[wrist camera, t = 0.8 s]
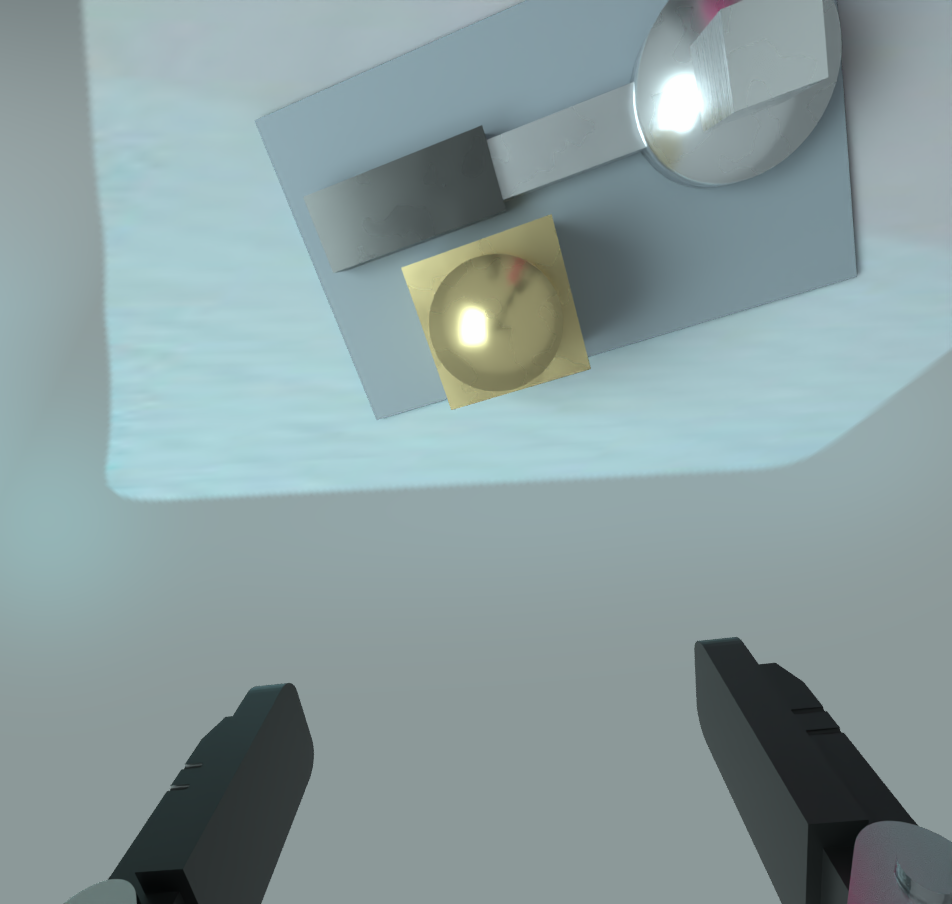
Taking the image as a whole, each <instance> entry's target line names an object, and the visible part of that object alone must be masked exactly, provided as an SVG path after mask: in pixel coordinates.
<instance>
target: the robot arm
mask: <svg viewBox="0 0 952 904" xmlns="http://www.w3.org/2000/svg"><path fill="white" fill-rule="evenodd" d="M695 672H696V673H695V674H696V697H697V710H698V716H699V721H700V725H701V729H702V732H703V735H704V738H705V740H706V743H707V745H708V747H709V749H710V751H711V753H712V756H713V758H714V760H715V762H716V764H717V766H718V768H719V771H720V773H721V775H722V777H723V779H724V781H725V783H726V785H727V788H728V790H729V792H730V794H731V796H732V798H733V800H734V803H735V805H736V807H737V809H738V811H739V813H740V815H741V817H742V819H743V822H744V824H745V826H746V828H747V830H748V832H749V835H750V837H751V839H752V841H753V843H754V845H755V847H756V849H757V851H758V854H759V856H760V858H761V860H762V862H763V864H764V866H765V869H766V870H767V873H768V875H769V877H770V879H771V881H772V883H773V885H774V888H775V890H776V892H777V894H778V896H779V898H780V901H781V903H782V904H952V842H951V841H949V840H947V839H946V838H944V837H942V836H941V835H939V834H937V833H934V832H932V831H930V830H928V829H925V828H923V827H920V826H918V825H917V824H916V822H915V821H914V820H913V819H912V818H911V817H910V815H909V814H908V813H907V812H906V810H905V809H904V808H903V807H902V805H901V804H900V803H899V802H898V800H897V799H896V798H895V797H894V795H893V794H892V793H891V792H890V790H889V789H888V788H887V786H886V785H885V784H884V783H883V782H882V781H881V779H880V778H879V776H878V775H877V774H876V773H875V771H874V770H873V769H872V768H871V766H870V765H869V764H868V763H867V761H866V760H865V759H864V758H863V757H862V755H861V754H860V752H859V751H858V750H857V749H856V747H855V746H854V745H853V744H852V742H851V741H850V740H849V739H848V737H847V736H846V735H845V734H844V733H841V731H840V727H839V726H838V725H837V724H836V722H835V721H834V720H833V719H832V717H831V716H830V715H829V713H828V712H827V711H826V712H825V711H824V709H823V706H822V705H821V703H820V702H819V701H818V700H817V698H816V697H815V696H814V695H813V693H812V692H811V691H810V690H809V688H808V687H807V686H806V685H805V683H804V682H803V681H801V680H800V679H798V678H797V677H795V676H794V675H793V674H791V673H790V672H788V671H787V670H785V669H784V668H782V667H781V666H779V665H778V664H776V663H769V664H760V665H759V664H758V663H757V662H756V660H755V659H754V657H753V656H752V654H751V653H750V652H749V650H748V649H747V648H746V646H745V645H744V643H743V642H742V641H741V640H740V639H739V638H738V637H732V638H722V639H713V640H703V641H697V642H696V643H695ZM313 759H314V749H313V742H312V738H311V735H310V732H309V728H308V725H307V722H306V719H305V715H304V712H303V709H302V706H301V703H300V699H299V696H298V693H297V690H296V688H295V686H294V685H293V684H291V683H285V684H275V685H266V686H256V687H253V688H252V689H250V690H249V692H248V693H247V695H246V696H245V698H244V699H243V701H242V702H241V704H240V705H239V707H238V709H237V710H236V712H235V713H234V715H233V716H231V717H225V718H224V719H223V720H222V721H221V722H220V723H219V724H218V725H217V726H215V727H214V728H213V729H212V730H211V731H210V732H209V733H208V734H207V735H206V736H205V737H204V738H203V739H202V740H201V741H200V743H199V744H198V746H197V747H196V749H195V750H194V752H193V753H192V755H191V756H190V758H189V759H188V761H187V762H186V764H185V768H184V769H183V770H181V771H180V773H179V774H178V776H177V777H176V779H175V780H174V782H173V783H172V785H171V789H170V791H167V792H166V794H165V795H164V797H163V798H162V800H161V801H160V803H159V804H158V806H157V807H156V809H155V810H154V812H153V813H152V815H151V816H150V818H149V819H148V821H147V822H146V824H145V825H144V827H143V828H142V830H141V831H140V833H139V834H138V836H137V837H136V839H135V840H134V842H133V843H132V845H131V846H130V848H129V849H128V851H127V852H126V854H125V855H124V857H123V858H122V860H121V861H120V863H119V864H118V866H117V867H116V869H115V870H114V872H113V873H112V875H111V876H110V877H109V879H108V880H106V881H102V882H99V883H97V884H94V885H92V886H90V887H88V888H86V889H84V890H82V891H81V892H79V893H77V894H76V895H74V896H73V897H71V898H70V899H69V900H67V901H66V902H65V903H64V904H261V902H262V900H263V897H264V895H265V892H266V889H267V887H268V884H269V882H270V879H271V877H272V874H273V872H274V869H275V866H276V864H277V861H278V858H279V856H280V853H281V851H282V848H283V846H284V843H285V840H286V838H287V835H288V833H289V830H290V828H291V825H292V822H293V820H294V817H295V815H296V812H297V810H298V807H299V805H300V802H301V799H302V797H303V794H304V792H305V789H306V786H307V784H308V781H309V779H310V776H311V771H312V768H313Z"/></svg>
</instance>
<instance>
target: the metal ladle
mask: <svg viewBox="0 0 952 904" xmlns="http://www.w3.org/2000/svg"><path fill="white" fill-rule="evenodd" d="M841 52H842V34H841V27H840V20H839V16H838V12H837V9H836V5H835V3H834V1H833V0H669V1H668V2H667V4H666V5H665V6H664V8H663V9H662V11H661V12H660V14H659V16H658V17H657V19H656V21H655V23H654V24H653V26H652V28H651V29H650V31H649V33H648V35H647V36H646V38H645V40H644V42H643V44H642V46H641V48H640V50H639V53H638V55H637V57H636V61H635V64H634V67H633V70H632V75H631V79H630V84H627V85H625V86H622V87H619V88H617V89H614V90H612V91H609V92H607V93H604V94H602V95H599V96H597V97H594V98H592V99H589V100H587V101H584V102H581V103H579V104H576V105H574V106H571V107H569V108H566V109H564V110H561V111H559V112H556V113H554V114H551V115H549V116H546V117H543V118H541V119H538V120H536V121H533V122H531V123H528V124H526V125H523V126H521V127H518V128H516V129H513V130H511V131H508V132H505V133H503V134H500V135H498V136H495V137H493V138H490V139H488V140H487V139H486V135H485V132H484V129H483V126H482V125H481V126H479V127H476V128H474V129H471V130H469V131H466V132H464V133H461V134H459V135H456V136H454V137H451V138H449V139H446V140H444V141H441V142H439V143H436V144H434V145H431V146H429V147H426V148H424V149H421V150H419V151H416V152H414V153H411V154H409V155H406V156H404V157H401V158H399V159H396V160H394V161H391V162H389V163H386V164H384V165H381V166H379V167H376V168H374V169H371V170H369V171H366V172H364V173H361V174H359V175H357V176H354V177H352V178H349V179H347V180H344V181H342V182H339V183H337V184H334V185H332V186H329V187H327V188H324V189H322V190H319V191H317V192H314V193H312V194H309V195H307V196H304V197H303V198H304V201H305V203H306V206H307V208H308V211H309V213H310V216H311V218H312V221H313V223H314V226H315V228H316V231H317V233H318V236H319V238H320V241H321V243H322V246H323V248H324V251H325V253H326V256H327V258H328V261H329V264H330V266H331V269H332V271H333V273H337V272H345V271H348V270H350V269H353V268H356V267H359V266H361V265H364V264H367V263H370V262H372V261H375V260H378V259H381V258H383V257H386V256H389V255H392V254H394V253H397V252H400V251H402V250H405V249H408V248H411V247H413V246H416V245H419V244H422V243H424V242H427V241H430V240H433V239H435V238H438V237H441V236H444V235H446V234H449V233H452V232H455V231H457V230H460V229H463V228H466V227H468V226H471V225H474V224H477V223H479V222H482V221H485V220H488V219H490V218H493V217H496V216H499V215H501V214H504V213H507V211H506V207H505V203H504V202H505V201H508V200H511V199H513V198H516V197H519V196H522V195H524V194H527V193H530V192H532V191H535V190H538V189H541V188H543V187H546V186H549V185H551V184H554V183H557V182H560V181H562V180H565V179H568V178H570V177H573V176H576V175H579V174H581V173H584V172H587V171H589V170H592V169H595V168H598V167H600V166H603V165H606V164H608V163H611V162H614V161H617V160H619V159H622V158H625V157H627V156H630V155H633V154H636V153H638V152H641V153H642V154H643V156H644V157H645V159H646V160H647V161H648V162H649V164H650V165H651V166H652V167H653V168H654V169H655V170H656V171H657V172H658V173H660V174H661V175H663V176H664V177H666V178H667V179H669V180H671V181H673V182H675V183H677V184H680V185H683V186H687V187H692V188H717V187H723V186H726V185H730V184H734V183H737V182H740V181H743V180H746V179H750V178H752V177H755V176H757V175H759V174H762V173H764V172H766V171H767V170H769V169H771V168H773V167H775V166H776V165H777V164H779V163H780V162H782V161H783V160H784V159H786V158H787V157H788V156H789V155H790V154H791V153H793V152H794V151H795V150H796V149H797V148H798V147H799V146H800V145H801V144H802V143H803V141H804V140H805V139H806V138H807V137H808V136H809V134H810V133H811V132H812V130H813V129H814V128H815V126H816V125H817V123H818V122H819V120H820V118H821V116H822V115H823V113H824V111H825V109H826V107H827V105H828V103H829V101H830V98H831V96H832V93H833V90H834V87H835V84H836V81H837V77H838V73H839V68H840V62H841Z"/></svg>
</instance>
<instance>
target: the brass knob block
mask: <svg viewBox="0 0 952 904" xmlns="http://www.w3.org/2000/svg"><path fill="white" fill-rule="evenodd" d="M401 269H402V272H403V275H404V278H405V280H406V283H407V286H408V289H409V292H410V294H411V297H412V300H413V303H414V306H415V309H416V311H417V314H418V317H419V320H420V323H421V325H422V328H423V331H424V334H425V337H426V340H427V342H428V345H429V348H430V351H431V354H432V357H433V359H434V362H435V365H436V368H437V371H438V373H439V376H440V379H441V382H442V385H443V388H444V390H445V393H446V396H447V399H448V402H449V404H450V407H451V410H453V409H456V408H460V407H463V406H467V405H470V404H473V403H477V402H480V401H484V400H487V399H490V398H494V397H497V396H501V395H504V394H507V393H511V392H514V391H518V390H521V389H524V388H528V387H531V386H535V385H538V384H541V383H545V382H548V381H552V380H555V379H558V378H562V377H565V376H569V375H572V374H575V373H579V372H582V371H586V370H589V369H591V368H590V364H589V360H588V356H587V352H586V348H585V344H584V340H583V336H582V332H581V328H580V324H579V320H578V317H577V313H576V309H575V305H574V301H573V297H572V293H571V289H570V285H569V281H568V277H567V273H566V269H565V265H564V261H563V257H562V253H561V249H560V245H559V241H558V237H557V233H556V229H555V225H554V221H553V217H552V214H550V215H547V216H545V217H542V218H539V219H536V220H533V221H531V222H528V223H525V224H522V225H519V226H517V227H514V228H511V229H508V230H505V231H503V232H500V233H497V234H494V235H491V236H489V237H486V238H483V239H480V240H477V241H475V242H472V243H469V244H466V245H463V246H461V247H458V248H455V249H452V250H449V251H447V252H444V253H441V254H438V255H435V256H433V257H430V258H427V259H424V260H421V261H419V262H416V263H413V264H410V265H407V266H405V267H402V268H401Z"/></svg>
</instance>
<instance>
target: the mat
mask: <svg viewBox="0 0 952 904" xmlns="http://www.w3.org/2000/svg"><path fill="white" fill-rule="evenodd" d="M668 1H669V0H526V1H524V2H522V3H519V4H517V5H515V6H513V7H510V8H508V9H506V10H504V11H501V12H499V13H497V14H494V15H492V16H490V17H488V18H485V19H483V20H481V21H479V22H476V23H474V24H472V25H470V26H467V27H465V28H463V29H461V30H458V31H456V32H454V33H451V34H449V35H447V36H445V37H442V38H440V39H438V40H436V41H433V42H431V43H429V44H427V45H424V46H422V47H420V48H418V49H415V50H413V51H411V52H409V53H406V54H404V55H402V56H399V57H397V58H395V59H393V60H390V61H388V62H386V63H384V64H381V65H379V66H377V67H375V68H372V69H370V70H368V71H366V72H363V73H361V74H359V75H357V76H354V77H352V78H350V79H347V80H345V81H343V82H341V83H338V84H336V85H334V86H332V87H329V88H327V89H325V90H323V91H320V92H318V93H316V94H314V95H311V96H309V97H307V98H304V99H302V100H300V101H298V102H295V103H293V104H291V105H289V106H286V107H284V108H282V109H280V110H277V111H275V112H273V113H271V114H268V115H266V116H264V117H262V118H259V119H257V120H255V123H256V126H257V128H258V131H259V133H260V135H261V138H262V140H263V143H264V145H265V148H266V150H267V153H268V155H269V158H270V160H271V162H272V165H273V167H274V170H275V172H276V175H277V177H278V180H279V182H280V184H281V187H282V189H283V192H284V194H285V197H286V199H287V202H288V204H289V207H290V209H291V211H292V214H293V216H294V219H295V221H296V224H297V226H298V229H299V231H300V233H301V236H302V238H303V241H304V243H305V246H306V248H307V251H308V253H309V255H310V258H311V260H312V263H313V265H314V268H315V270H316V273H317V275H318V278H319V280H320V282H321V285H322V287H323V290H324V292H325V295H326V297H327V300H328V302H329V304H330V307H331V309H332V312H333V314H334V317H335V319H336V322H337V324H338V327H339V329H340V331H341V334H342V336H343V339H344V341H345V344H346V346H347V349H348V351H349V353H350V356H351V358H352V361H353V363H354V366H355V368H356V371H357V373H358V376H359V378H360V380H361V383H362V385H363V388H364V390H365V393H366V395H367V398H368V400H369V402H370V405H371V407H372V410H373V412H374V415H375V417H376V420H379V419H382V418H385V417H389V416H392V415H395V414H399V413H402V412H405V411H409V410H412V409H415V408H419V407H422V406H426V405H429V404H432V403H436V402H439V401H442V400H446V399H447V396H446V393H445V390H444V388H443V385H442V382H441V379H440V376H439V373H438V371H437V368H436V365H435V362H434V359H433V357H432V354H431V351H430V348H429V345H428V342H427V340H426V337H425V334H424V331H423V328H422V325H421V323H420V320H419V317H418V314H417V311H416V309H415V306H414V303H413V300H412V297H411V294H410V292H409V289H408V286H407V283H406V280H405V278H404V275H403V272H402V269H401V268H402V267H405V266H407V265H410V264H413V263H416V262H419V261H421V260H424V259H427V258H430V257H433V256H435V255H438V254H441V253H444V252H447V251H449V250H452V249H455V248H458V247H461V246H463V245H466V244H469V243H472V242H475V241H477V240H480V239H483V238H486V237H489V236H491V235H494V234H497V233H500V232H503V231H505V230H508V229H511V228H514V227H517V226H519V225H522V224H525V223H528V222H531V221H533V220H536V219H539V218H542V217H545V216H547V215H550V214H552V217H553V221H554V225H555V229H556V233H557V237H558V241H559V245H560V249H561V253H562V257H563V261H564V265H565V269H566V273H567V277H568V281H569V285H570V289H571V293H572V297H573V301H574V305H575V309H576V313H577V317H578V320H579V324H580V328H581V332H582V336H583V340H584V344H585V348H586V352H587V356H588V357H589V356H593V355H596V354H599V353H603V352H606V351H609V350H613V349H616V348H619V347H623V346H626V345H630V344H633V343H636V342H640V341H643V340H646V339H650V338H653V337H656V336H660V335H663V334H666V333H670V332H673V331H676V330H680V329H683V328H686V327H690V326H693V325H696V324H700V323H703V322H706V321H710V320H713V319H716V318H720V317H723V316H727V315H730V314H733V313H737V312H740V311H743V310H747V309H750V308H753V307H757V306H760V305H763V304H767V303H770V302H773V301H777V300H780V299H783V298H787V297H790V296H793V295H797V294H800V293H803V292H807V291H810V290H813V289H817V288H820V287H824V286H827V285H830V284H834V283H837V282H840V281H844V280H847V279H850V278H854V277H857V272H856V258H855V244H854V230H853V216H852V202H851V188H850V174H849V160H848V146H847V132H846V118H845V104H844V90H843V76H842V62H840V68H839V73H838V77H837V81H836V84H835V87H834V90H833V93H832V96H831V98H830V101H829V103H828V105H827V107H826V109H825V111H824V113H823V115H822V116H821V118H820V120H819V122H818V123H817V125H816V126H815V128H814V129H813V130H812V132H811V133H810V134H809V136H808V137H807V138H806V139H805V140H804V141H803V143H802V144H801V145H800V146H799V147H798V148H797V149H796V150H795V151H794V152H793V153H791V154H790V155H789V156H788V157H787V158H786V159H784V160H783V161H782V162H780V163H779V164H777V165H776V166H775V167H773V168H771V169H769V170H767V171H766V172H764V173H762V174H759V175H757V176H755V177H752V178H750V179H746V180H743V181H740V182H737V183H734V184H730V185H726V186H723V187H717V188H692V187H687V186H683V185H680V184H677V183H675V182H673V181H671V180H669V179H667V178H666V177H664V176H663V175H661V174H660V173H658V172H657V171H656V170H655V169H654V168H653V167H652V166H651V165H650V164H649V162H648V161H647V160H646V159H645V157H644V156H643V154H642V153H641V152H638V153H636V154H633V155H630V156H627V157H625V158H622V159H619V160H617V161H614V162H611V163H608V164H606V165H603V166H600V167H598V168H595V169H592V170H589V171H587V172H584V173H581V174H579V175H576V176H573V177H570V178H568V179H565V180H562V181H560V182H557V183H554V184H551V185H549V186H546V187H543V188H541V189H538V190H535V191H532V192H530V193H527V194H524V195H522V196H519V197H516V198H513V199H511V200H508V201H505V202H504V203H505V207H506V211H507V213H504V214H501V215H499V216H496V217H493V218H490V219H488V220H485V221H482V222H479V223H477V224H474V225H471V226H468V227H466V228H463V229H460V230H457V231H455V232H452V233H449V234H446V235H444V236H441V237H438V238H435V239H433V240H430V241H427V242H424V243H422V244H419V245H416V246H413V247H411V248H408V249H405V250H402V251H400V252H397V253H394V254H392V255H389V256H386V257H383V258H381V259H378V260H375V261H372V262H370V263H367V264H364V265H361V266H359V267H356V268H353V269H350V270H348V271H345V272H337V273H333V271H332V269H331V266H330V264H329V261H328V258H327V256H326V253H325V251H324V248H323V246H322V243H321V241H320V238H319V236H318V233H317V231H316V228H315V226H314V223H313V221H312V218H311V216H310V213H309V211H308V208H307V206H306V203H305V201H304V198H303V197H304V196H307V195H309V194H312V193H314V192H317V191H319V190H322V189H324V188H327V187H329V186H332V185H334V184H337V183H339V182H342V181H344V180H347V179H349V178H352V177H354V176H357V175H359V174H361V173H364V172H366V171H369V170H371V169H374V168H376V167H379V166H381V165H384V164H386V163H389V162H391V161H394V160H396V159H399V158H401V157H404V156H406V155H409V154H411V153H414V152H416V151H419V150H421V149H424V148H426V147H429V146H431V145H434V144H436V143H439V142H441V141H444V140H446V139H449V138H451V137H454V136H456V135H459V134H461V133H464V132H466V131H469V130H471V129H474V128H476V127H479V126H481V125H482V126H483V129H484V132H485V135H486V139H487V140H488V139H490V138H493V137H495V136H498V135H500V134H503V133H505V132H508V131H511V130H513V129H516V128H518V127H521V126H523V125H526V124H528V123H531V122H533V121H536V120H538V119H541V118H543V117H546V116H549V115H551V114H554V113H556V112H559V111H561V110H564V109H566V108H569V107H571V106H574V105H576V104H579V103H581V102H584V101H587V100H589V99H592V98H594V97H597V96H599V95H602V94H604V93H607V92H609V91H612V90H614V89H617V88H619V87H622V86H625V85H627V84H630V79H631V75H632V70H633V67H634V64H635V61H636V57H637V55H638V53H639V50H640V48H641V46H642V44H643V42H644V40H645V38H646V36H647V35H648V33H649V31H650V29H651V28H652V26H653V24H654V23H655V21H656V19H657V17H658V16H659V14H660V12H661V11H662V9H663V8H664V6H665V5H666V4H667V2H668ZM833 1H834V3H835V5H836V9H837V12H838V6H837V0H833Z"/></svg>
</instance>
